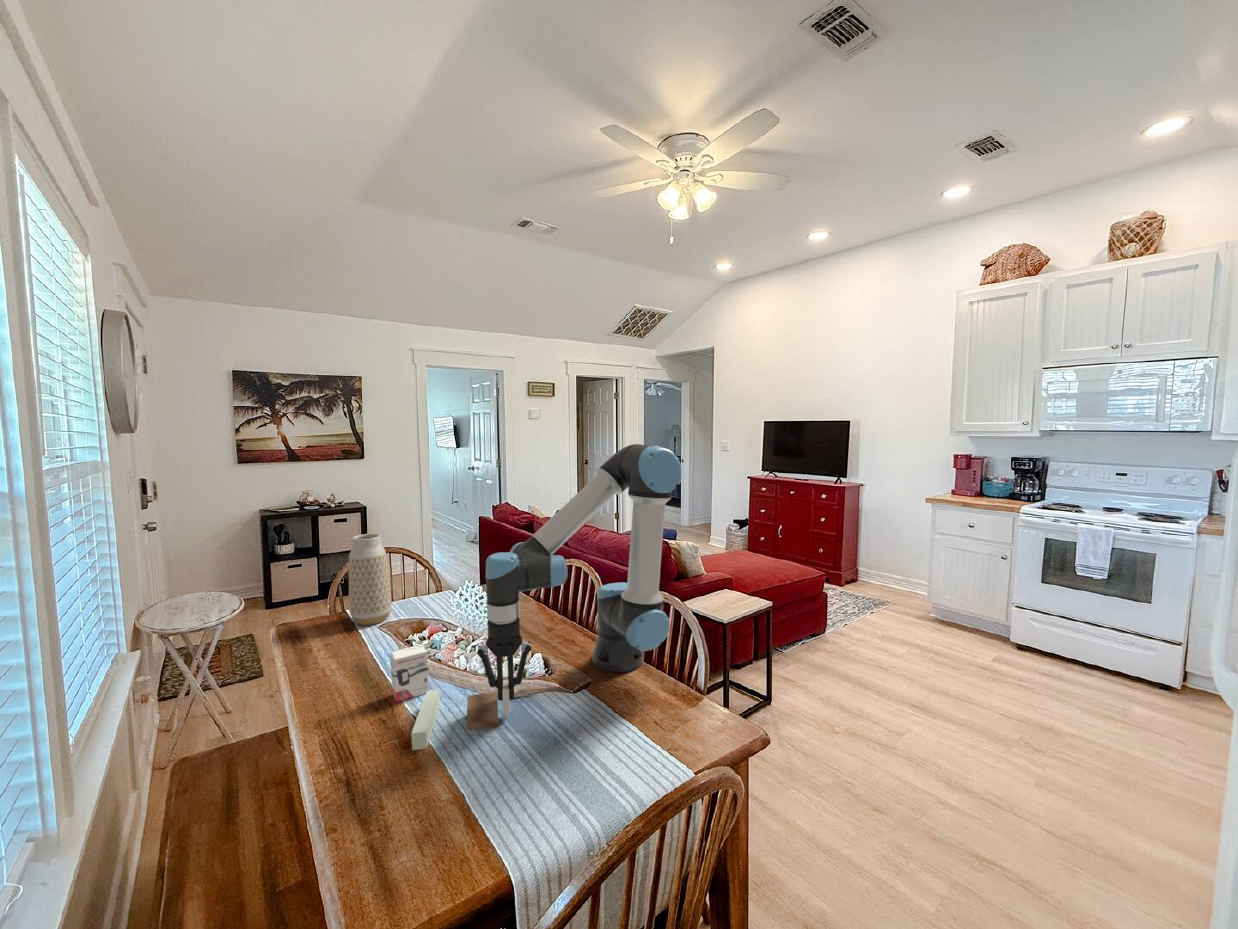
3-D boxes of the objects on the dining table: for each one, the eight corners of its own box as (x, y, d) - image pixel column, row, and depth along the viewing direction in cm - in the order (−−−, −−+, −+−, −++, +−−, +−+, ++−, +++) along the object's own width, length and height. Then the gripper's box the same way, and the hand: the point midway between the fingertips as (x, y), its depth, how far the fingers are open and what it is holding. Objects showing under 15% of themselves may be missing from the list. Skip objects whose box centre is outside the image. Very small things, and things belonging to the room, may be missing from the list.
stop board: (440, 704, 136) (439, 689, 136) (426, 748, 118) (425, 731, 118) (427, 705, 136) (426, 690, 135) (412, 750, 118) (411, 733, 117)
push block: (497, 710, 133) (497, 691, 133) (498, 727, 127) (497, 707, 126) (468, 715, 132) (467, 695, 131) (467, 731, 125) (466, 711, 124)
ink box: (396, 703, 137) (393, 659, 136) (392, 694, 141) (389, 651, 140) (430, 692, 142) (427, 650, 141) (425, 685, 146) (423, 643, 145)
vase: (385, 609, 201) (380, 530, 198) (397, 620, 191) (392, 536, 187) (346, 619, 192) (340, 536, 189) (356, 631, 182) (350, 543, 179)
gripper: (531, 610, 132) (533, 700, 134) (477, 614, 130) (480, 706, 132) (531, 622, 125) (533, 717, 127) (473, 626, 123) (477, 723, 125)
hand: (506, 711), depth 130 cm, fingers closed
